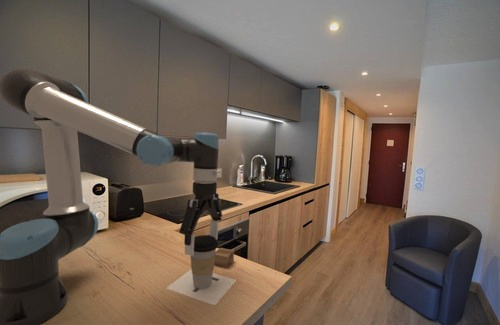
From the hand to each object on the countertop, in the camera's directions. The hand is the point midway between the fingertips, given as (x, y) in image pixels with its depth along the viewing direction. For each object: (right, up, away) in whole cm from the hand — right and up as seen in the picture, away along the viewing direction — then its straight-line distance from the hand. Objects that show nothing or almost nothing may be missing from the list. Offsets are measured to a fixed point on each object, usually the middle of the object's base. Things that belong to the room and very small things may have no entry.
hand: (202, 246), depth 75 cm
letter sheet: (0, -13, +1) cm, 13 cm away
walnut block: (+5, -13, +15) cm, 20 cm away
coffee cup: (0, -13, +1) cm, 13 cm away
